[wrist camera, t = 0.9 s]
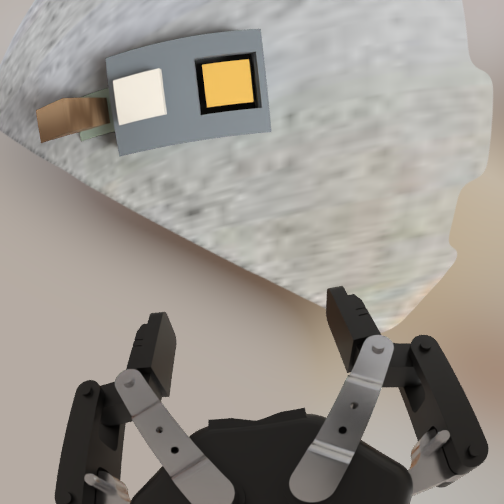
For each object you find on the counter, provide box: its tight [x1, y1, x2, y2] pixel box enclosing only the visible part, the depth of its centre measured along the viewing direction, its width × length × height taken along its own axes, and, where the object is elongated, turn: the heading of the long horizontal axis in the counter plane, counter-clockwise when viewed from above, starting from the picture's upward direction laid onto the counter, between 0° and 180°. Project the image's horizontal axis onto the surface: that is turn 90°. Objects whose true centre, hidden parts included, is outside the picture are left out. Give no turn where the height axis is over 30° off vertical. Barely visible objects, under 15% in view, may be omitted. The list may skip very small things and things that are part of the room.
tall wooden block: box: [36, 98, 110, 143], centre depth 25 cm, size 4×4×11 cm
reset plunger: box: [202, 59, 254, 108], centre depth 28 cm, size 5×5×2 cm
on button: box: [113, 68, 167, 125], centre depth 25 cm, size 5×5×4 cm
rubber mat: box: [80, 88, 115, 141], centre depth 30 cm, size 6×6×1 cm
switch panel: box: [106, 29, 271, 156], centre depth 28 cm, size 12×17×5 cm
